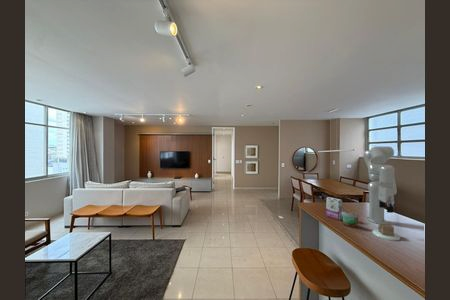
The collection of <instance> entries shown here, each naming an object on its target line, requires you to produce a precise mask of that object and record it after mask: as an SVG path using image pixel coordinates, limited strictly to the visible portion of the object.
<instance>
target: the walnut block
mask: <svg viewBox="0 0 450 300" xmlns="http://www.w3.org/2000/svg"><path fill="white" fill-rule="evenodd" d="M377 224H378V226H377V227H378V228H377V229H378V231H379V232H380V233H381V234H382V235H387V236H394V233H395V227H394V226H393V225H392V224H391V223H377Z"/></svg>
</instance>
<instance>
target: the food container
mask: <svg viewBox="0 0 450 300" xmlns="http://www.w3.org/2000/svg"><path fill="white" fill-rule="evenodd" d="M344 210H345V209H342V213H341V214H342V225H344V226H345V227H347V228H352V229H355V228H358V221H359V218H360V216H359V214H355V213H353V212H348V211H344Z"/></svg>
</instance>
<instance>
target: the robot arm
mask: <svg viewBox="0 0 450 300" xmlns="http://www.w3.org/2000/svg"><path fill="white" fill-rule="evenodd" d="M394 155H395V150H394V148H393V147H391V146H373V147H372V148H371V149H368V150H365V151H364V152H363V159H364V162H365V165H366V166H367V169H368V170H367V172H368V179H369V180H370V182H369V183H367V190H368V196H369V198H368V201H369V202H368V203H369V205H368V208H369V209H368V217H366V220H367V221H369V222H370V223H374V224H378V223H387V220H386V219H385V209H386V213H390V214H393V213H394V207H395V200H394V199H395V198H394V196H395V195H397V192H398V191H397V190H398V189H397V183H396V179H395V167H394V166H393V165H391V164H385V163H386V162H387V161H388V160H390V159H392V158H393V157H394ZM386 205H387V206H386Z"/></svg>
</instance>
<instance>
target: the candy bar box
mask: <svg viewBox="0 0 450 300" xmlns="http://www.w3.org/2000/svg"><path fill="white" fill-rule="evenodd" d="M325 203H326V204H325V216H326V217H327V216H328V217H327V218H330V217H331V218H330V219H333V218H334V219H333V220H337V221H343V215H342V214H341V213H342V210H343V199H341V198H336V197H332V196H331V197H330V196H328V197H326V198H325Z"/></svg>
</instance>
